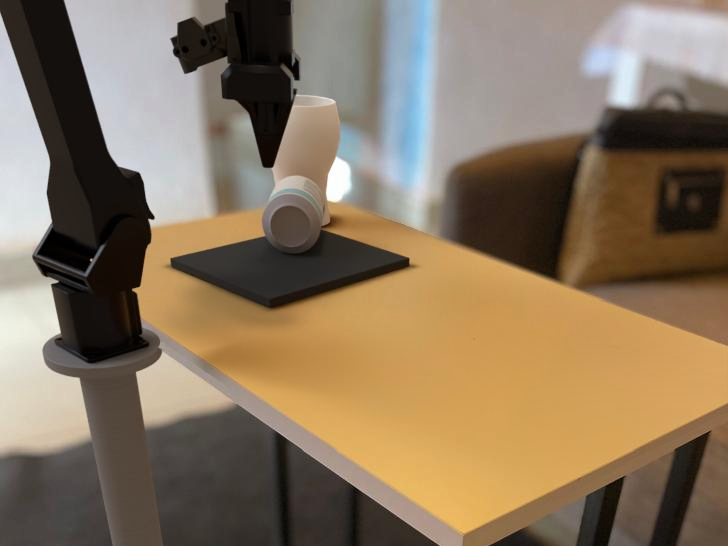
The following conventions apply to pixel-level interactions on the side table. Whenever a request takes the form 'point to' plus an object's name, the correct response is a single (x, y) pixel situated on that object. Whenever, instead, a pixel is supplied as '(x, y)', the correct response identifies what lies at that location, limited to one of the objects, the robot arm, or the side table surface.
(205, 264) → the mat
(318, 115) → the cup
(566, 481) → the side table surface
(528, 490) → the side table surface
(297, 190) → the beverage can
